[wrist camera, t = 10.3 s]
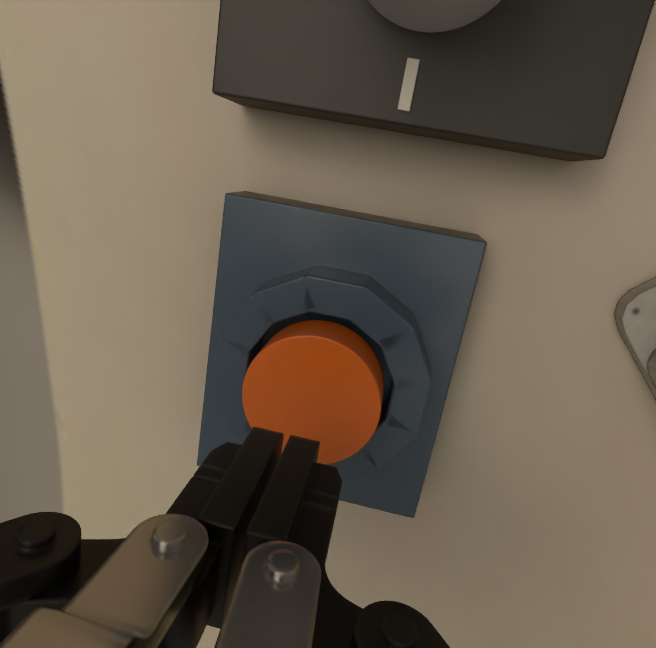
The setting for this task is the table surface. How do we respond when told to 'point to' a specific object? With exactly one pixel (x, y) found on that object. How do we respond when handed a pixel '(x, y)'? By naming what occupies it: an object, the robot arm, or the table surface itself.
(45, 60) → the table surface
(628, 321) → the emergency button
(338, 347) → the power button
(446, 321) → the switch block
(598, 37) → the dial panel
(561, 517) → the table surface
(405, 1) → the knob
